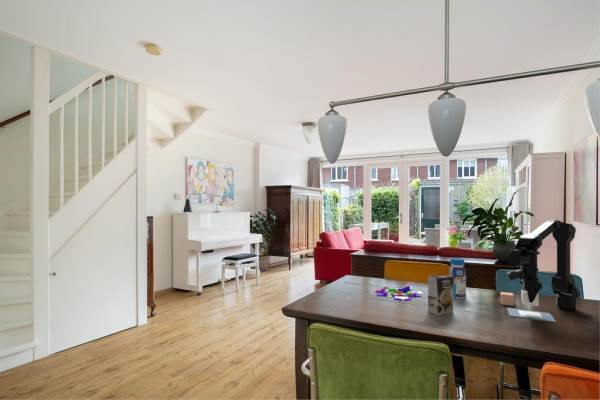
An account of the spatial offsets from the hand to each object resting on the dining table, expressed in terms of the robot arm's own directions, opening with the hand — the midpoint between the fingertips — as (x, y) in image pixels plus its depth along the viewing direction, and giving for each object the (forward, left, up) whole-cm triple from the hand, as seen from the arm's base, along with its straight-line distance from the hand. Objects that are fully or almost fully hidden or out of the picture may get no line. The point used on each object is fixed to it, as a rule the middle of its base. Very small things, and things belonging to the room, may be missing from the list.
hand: (529, 300), depth 143 cm
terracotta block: (+7, -16, -6) cm, 19 cm away
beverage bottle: (+29, -18, -7) cm, 35 cm away
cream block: (0, 0, -1) cm, 1 cm away
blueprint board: (0, 0, -6) cm, 6 cm away
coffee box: (+35, +14, -7) cm, 38 cm away
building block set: (+56, -7, -7) cm, 57 cm away
